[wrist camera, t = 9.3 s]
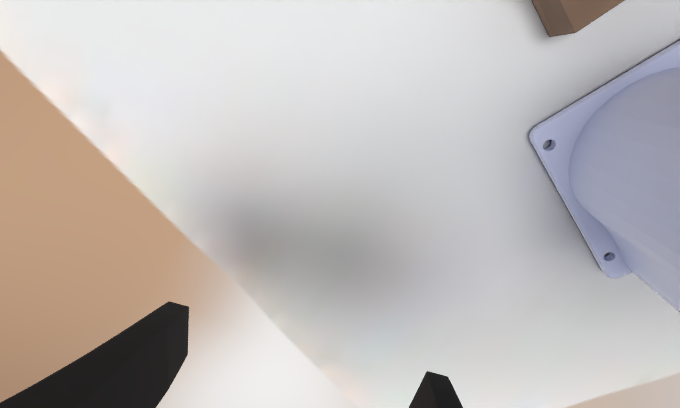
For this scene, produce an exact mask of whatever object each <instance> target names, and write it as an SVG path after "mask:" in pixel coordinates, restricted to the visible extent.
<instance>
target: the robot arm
mask: <svg viewBox="0 0 680 408" xmlns="http://www.w3.org/2000/svg"><path fill="white" fill-rule="evenodd" d="M529 138H530V141H531V143H532V145H533V147H534V148H535V150H536V152H537V154H538V156H539V157H540V159H541V161H542V163H543V165H544V167H545V168H546V170H547V172H548V174H549V176H550V177H551V179H552V181H553V183H554V185H555V186H556V188H557V190H558V192H559V194H560V195H561V197H562V199H563V201H564V203H565V204H566V206H567V208H568V210H569V212H570V213H571V215H572V217H573V219H574V221H575V222H576V224H577V226H578V228H579V230H580V232H581V233H582V235H583V237H584V239H585V241H586V242H587V244H588V246H589V248H590V250H591V251H592V253H593V255H594V257H595V259H596V260H597V262H598V264H599V266H600V268H601V269H602V271H603V272H604V273H605V274H606V275H607V276H608V277H610V278H618V277H621V276H624V275H626V274H629V273H631V272H633V273H634V274H635V275H637V276H638V277H639V278H640V279H641V280H642V281H644V282H645V283H646V284H647V285H648V286H650V287H651V288H652V289H653V290H654V291H655V292H657V293H658V294H659V295H660V296H661V297H663V298H664V299H665V300H666V301H667V302H668V303H670V304H671V305H672V306H673V307H674V308H676V309H677V310H678V311H679V312H680V41H678V42H676V43H675V44H673V45H671V46H669V47H668V48H666V49H664V50H663V51H661V52H659V53H658V54H656V55H654V56H653V57H651V58H649V59H648V60H646V61H644V62H643V63H641V64H639V65H638V66H636V67H634V68H632V69H631V70H629V71H627V72H626V73H624V74H622V75H621V76H619V77H617V78H616V79H614V80H612V81H611V82H609V83H607V84H606V85H604V86H602V87H601V88H599V89H597V90H595V91H594V92H592V93H590V94H589V95H587V96H585V97H584V98H582V99H580V100H579V101H577V102H575V103H574V104H572V105H570V106H569V107H567V108H565V109H564V110H562V111H560V112H558V113H557V114H555V115H553V116H552V117H550V118H548V119H547V120H545V121H543V122H542V123H540V124H538V125H537V126H535V127H534V128H533V129H532V131H531V132H530V136H529ZM550 139H551V141H552V143H551V146H550V147H548V148H546V149H543V144H544V143H545V142H546V141H547V140H550ZM609 252H610V254H609V255H608V256H606V257H604V255H605V254H607V253H609ZM188 314H189V307H188V306H183V305H180V304H176V303H173V302H168V303H166V304H164V305H162V306H161V307H159V308H158V309H156V310H155V311H153V312H152V313H150V314H149V315H147V316H146V317H144V318H142V319H141V320H140V321H138V322H136V323H135V324H133V325H132V326H130V327H129V328H127V329H126V330H124V331H122V332H121V333H120V334H118V335H116V336H115V337H113V338H111V339H110V340H108V341H107V342H105V343H103V344H102V345H100V346H99V347H97V348H95V349H94V350H92V351H91V352H89V353H87V354H86V355H84V356H83V357H81V358H79V359H77V360H76V361H74V362H72V363H71V364H69V365H67V366H65V367H64V368H62V369H60V370H58V371H57V372H55V373H53V374H52V375H50V376H48V377H46V378H45V379H43V380H41V381H39V382H38V383H36V384H34V385H32V386H31V387H29V388H27V389H25V390H23V391H21V392H20V393H18V394H16V395H14V396H12V397H10V398H8V399H6V400H4V401H3V402H1V403H0V408H156V406H157V405H158V404H159V402H160V401H161V399H162V398H163V396H164V395H165V393H166V392H167V391H168V389H169V387H170V385H171V384H172V382H173V380H174V378H175V377H176V375H177V373H178V371H179V369H180V368H181V366H182V364H183V362H184V360H185V358H186V356H187V354H188V319H189V315H188ZM409 408H463V407H462V405H461V403H460V401H459V398H458V396H457V394H456V392H455V390H454V388H453V386H452V384H451V382H450V380H449V378H448V377H447V376H443V375H439V374H436V373H432V372H428V371H427V372H426V374H425V376H424V378H423V380H422V382H421V384H420V386H419V388H418V390H417V392H416V394H415V396H414V398H413V400H412V402H411V404H410V406H409Z"/></svg>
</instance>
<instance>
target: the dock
mask: <svg viewBox="0 0 680 408" xmlns="http://www.w3.org/2000/svg"><path fill="white" fill-rule="evenodd" d="M623 1H624V0H532V2H533V4H534V6H535V8H536V10H537V12H538V14H539V16H540V18H541V20H542V22H543V25H544V27H545V29H546V31H547V33H548V35H549V37H553V36H559V35H566V34H572V33H576V32H578V31H579V30H581V29H582V28H584V27H585V26H587V25H588V24H590V23H591V22H593V21H594V20H596V19H597V18H599V17H600V16H602V15H603V14H605V13H606V12H608V11H609V10H611V9H612V8H614V7H615V6H617V5H618V4H620V3H621V2H623Z"/></svg>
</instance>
